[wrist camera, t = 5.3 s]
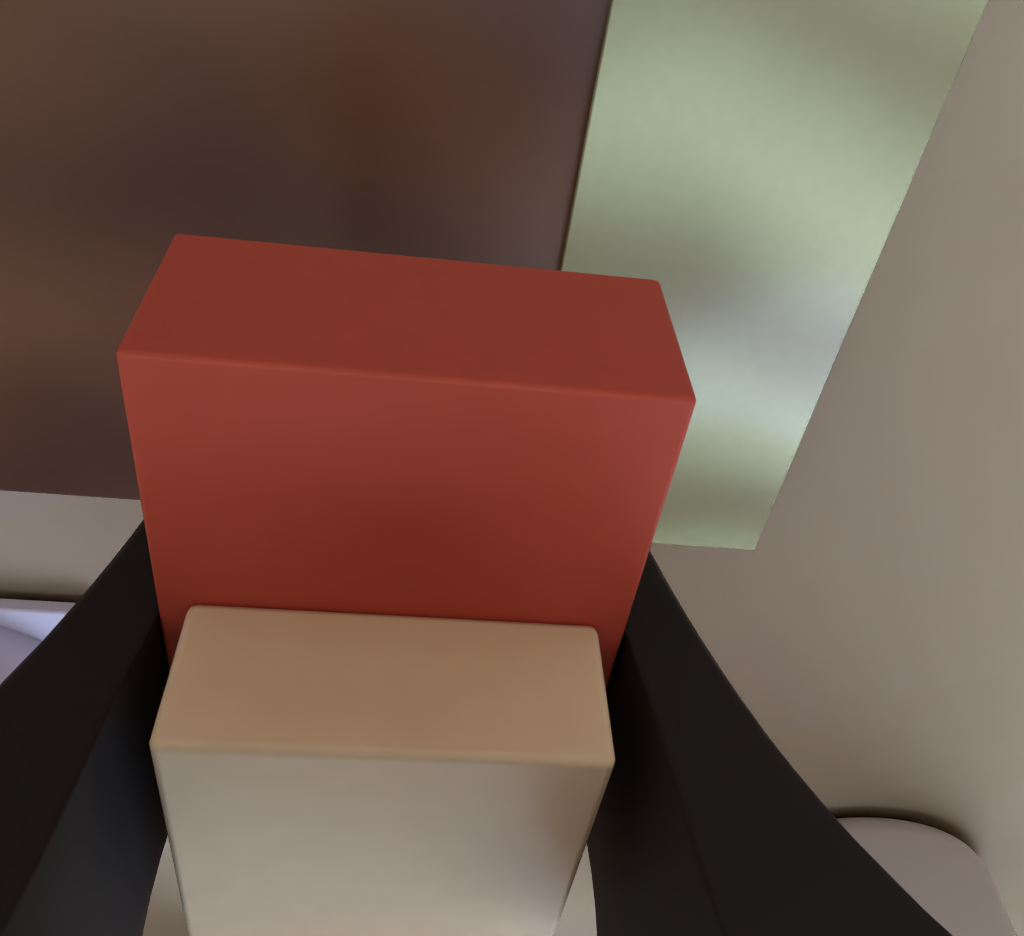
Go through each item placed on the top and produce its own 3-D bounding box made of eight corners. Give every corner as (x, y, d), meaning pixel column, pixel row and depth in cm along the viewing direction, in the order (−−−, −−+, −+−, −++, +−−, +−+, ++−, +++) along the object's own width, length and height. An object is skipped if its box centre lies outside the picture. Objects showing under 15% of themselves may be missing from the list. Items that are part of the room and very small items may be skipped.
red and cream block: (527, 727, 16) (545, 1031, 12) (245, 715, 15) (179, 1029, 12) (645, 231, 10) (744, 538, 6) (197, 185, 9) (41, 491, 6)
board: (743, 516, 24) (754, 550, 23) (-193, 447, 21) (-222, 482, 20) (971, -51, 16) (1003, -34, 15) (-510, -279, 13) (-583, -275, 12)
